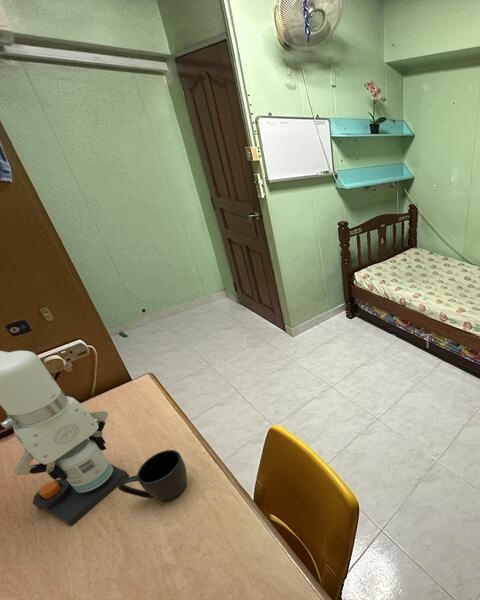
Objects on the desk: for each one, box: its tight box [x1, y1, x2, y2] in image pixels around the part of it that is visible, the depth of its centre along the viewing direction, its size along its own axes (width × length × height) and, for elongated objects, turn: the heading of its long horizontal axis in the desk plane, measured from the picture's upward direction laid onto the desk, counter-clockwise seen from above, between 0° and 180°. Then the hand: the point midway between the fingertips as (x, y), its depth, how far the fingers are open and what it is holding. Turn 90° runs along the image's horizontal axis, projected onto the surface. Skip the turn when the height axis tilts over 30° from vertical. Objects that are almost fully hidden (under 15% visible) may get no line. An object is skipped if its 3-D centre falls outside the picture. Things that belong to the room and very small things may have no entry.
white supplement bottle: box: [55, 438, 113, 492], centre depth 72 cm, size 7×7×12 cm
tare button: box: [38, 480, 61, 499], centre depth 71 cm, size 3×3×2 cm
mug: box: [117, 449, 187, 503], centre depth 72 cm, size 8×12×10 cm
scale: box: [32, 464, 130, 527], centre depth 74 cm, size 12×12×4 cm
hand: (81, 461), depth 71 cm, fingers closed on white supplement bottle, 7 cm apart
